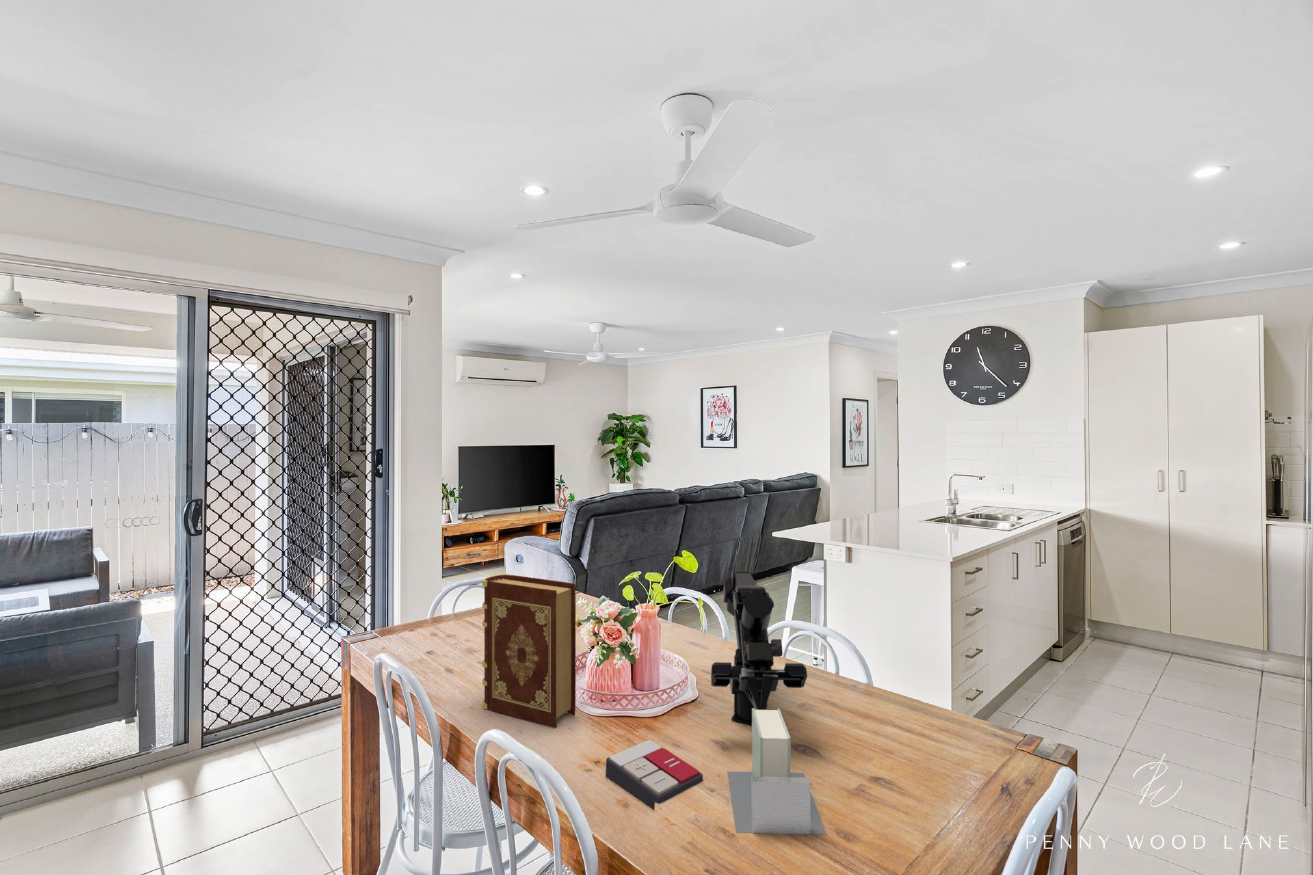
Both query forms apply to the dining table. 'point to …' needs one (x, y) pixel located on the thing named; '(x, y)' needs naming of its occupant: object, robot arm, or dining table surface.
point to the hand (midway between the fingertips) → (761, 718)
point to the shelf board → (742, 804)
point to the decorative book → (529, 647)
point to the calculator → (651, 773)
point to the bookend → (780, 805)
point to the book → (770, 744)
